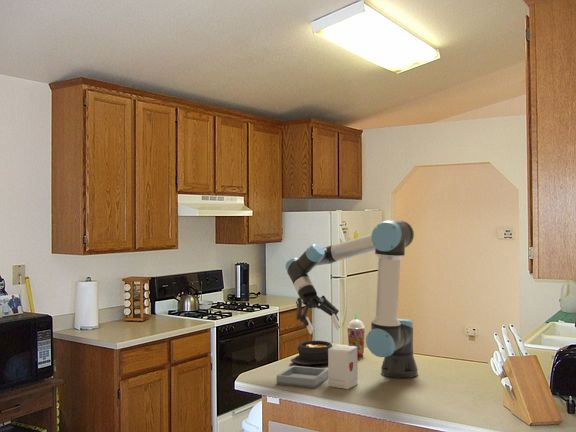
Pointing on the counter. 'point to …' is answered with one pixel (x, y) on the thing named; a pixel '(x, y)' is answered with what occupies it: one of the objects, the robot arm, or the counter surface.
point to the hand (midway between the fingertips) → (325, 330)
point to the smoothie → (356, 335)
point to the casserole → (312, 353)
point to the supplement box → (342, 366)
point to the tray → (302, 376)
